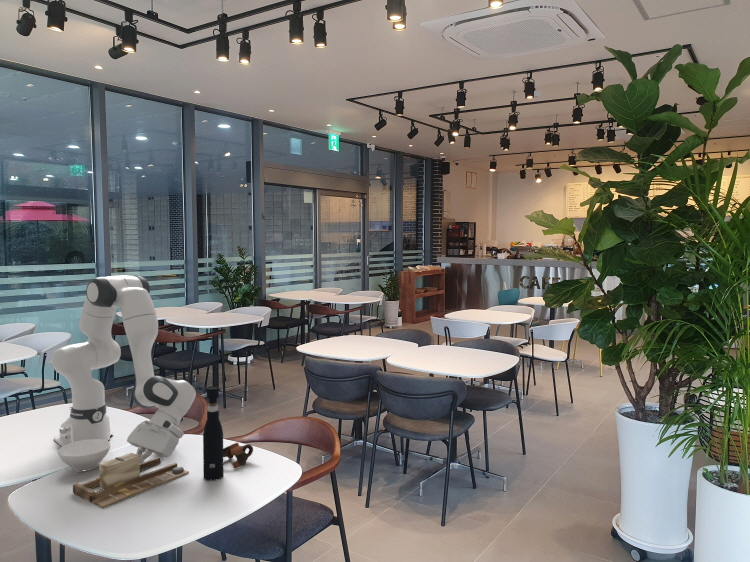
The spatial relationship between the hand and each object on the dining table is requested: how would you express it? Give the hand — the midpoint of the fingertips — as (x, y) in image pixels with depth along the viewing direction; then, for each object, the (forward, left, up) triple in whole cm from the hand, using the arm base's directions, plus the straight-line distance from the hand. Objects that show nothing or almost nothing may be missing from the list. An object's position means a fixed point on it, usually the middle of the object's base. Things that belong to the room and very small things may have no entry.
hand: (137, 461), depth 182 cm
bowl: (-22, -5, -5) cm, 23 cm away
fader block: (0, -6, -5) cm, 8 cm away
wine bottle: (+20, +15, -5) cm, 25 cm away
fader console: (+1, -3, -5) cm, 6 cm away
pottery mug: (+18, +27, -5) cm, 33 cm away
